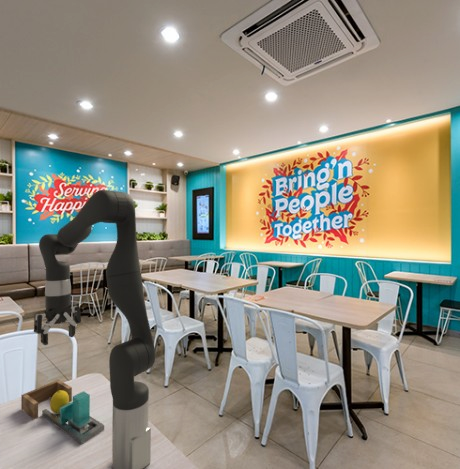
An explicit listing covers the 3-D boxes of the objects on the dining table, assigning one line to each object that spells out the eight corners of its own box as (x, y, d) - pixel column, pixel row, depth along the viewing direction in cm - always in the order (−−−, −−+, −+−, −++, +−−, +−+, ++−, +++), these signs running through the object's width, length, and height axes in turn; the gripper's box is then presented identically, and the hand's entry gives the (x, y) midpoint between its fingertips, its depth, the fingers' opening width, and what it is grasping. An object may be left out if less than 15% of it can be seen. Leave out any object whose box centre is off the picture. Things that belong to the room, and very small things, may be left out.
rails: (104, 429, 91) (104, 425, 91) (81, 444, 85) (81, 439, 85) (64, 404, 104) (64, 399, 104) (42, 415, 98) (42, 410, 98)
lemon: (60, 420, 96) (60, 396, 95) (46, 417, 97) (46, 393, 97) (72, 409, 101) (72, 387, 101) (59, 407, 102) (59, 385, 102)
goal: (71, 400, 106) (71, 387, 106) (34, 419, 96) (34, 404, 96) (58, 392, 111) (58, 379, 111) (21, 409, 101) (21, 395, 101)
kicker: (99, 424, 93) (99, 393, 93) (74, 439, 87) (74, 405, 86) (84, 414, 98) (84, 385, 98) (59, 428, 91) (59, 396, 91)
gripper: (40, 298, 90) (41, 350, 90) (84, 290, 102) (85, 336, 102) (29, 295, 94) (30, 345, 95) (73, 288, 106) (73, 332, 106)
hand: (58, 340), depth 98 cm, fingers open, 8 cm apart
